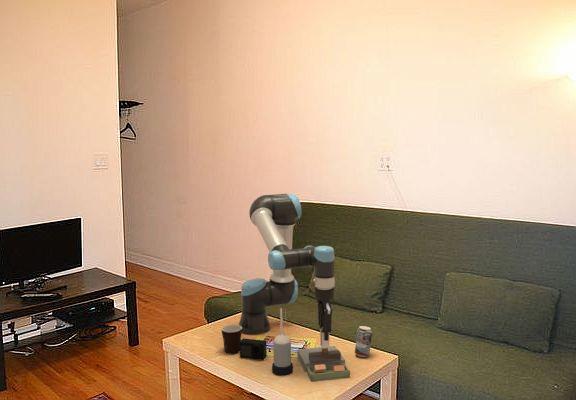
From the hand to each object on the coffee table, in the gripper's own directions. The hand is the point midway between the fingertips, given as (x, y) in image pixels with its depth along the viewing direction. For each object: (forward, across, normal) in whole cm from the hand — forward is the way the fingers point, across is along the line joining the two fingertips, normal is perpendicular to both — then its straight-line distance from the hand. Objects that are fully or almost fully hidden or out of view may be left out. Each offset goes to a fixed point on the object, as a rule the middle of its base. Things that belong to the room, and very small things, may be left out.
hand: (324, 346), depth 197 cm
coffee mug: (+10, -27, -33) cm, 44 cm away
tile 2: (+6, +5, +4) cm, 9 cm away
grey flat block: (+9, -6, 0) cm, 11 cm away
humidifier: (+10, -2, -16) cm, 19 cm away
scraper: (+6, 0, 0) cm, 6 cm away
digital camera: (+10, -18, -26) cm, 33 cm away
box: (+9, +5, 0) cm, 11 cm away
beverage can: (+10, -9, +19) cm, 23 cm away
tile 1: (+6, +5, -4) cm, 8 cm away
